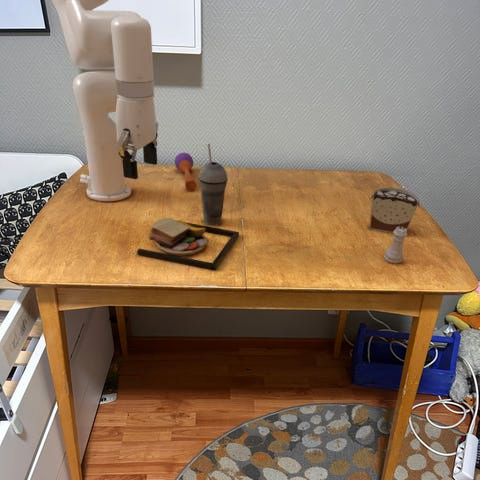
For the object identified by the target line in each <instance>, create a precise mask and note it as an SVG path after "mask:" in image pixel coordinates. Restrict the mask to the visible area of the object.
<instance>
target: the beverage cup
mask: <svg viewBox="0 0 480 480" xmlns="http://www.w3.org/2000/svg"><path fill="white" fill-rule="evenodd" d="M207 149H208V159H209V162H207V163H206V164H204V165H203V166H202V168H201V169H200V172H199V175H198V182H199V183H198V184H199V187H200V193H201V206H202V214H203V216H202V217H203V222H204V224H206V225H207V226H217V225H218V226H219V225H220V224H222V218H223V211H224V201H225V193H226V188H227V184H228V174H227V171H226V169H225V168H224V166H223V165H222V164H221V163H219V162H216V161H212V160H213V159H212V152H211V144H210V143H207Z"/></svg>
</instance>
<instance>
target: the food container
mask: <svg viewBox="0 0 480 480" xmlns="http://www.w3.org/2000/svg"><path fill="white" fill-rule="evenodd" d="M369 200H372V202H371V210H370V220H369V227H368V228H369V230H372V231H373V230H375V231H379V232H384V233H390V234H394V233H393V231H394V230H395V229H396V227H400V229H401V227H404V228H403V229H405V228H406V229H407V231H408V229H409V227H410V225H411V222H412V220H413V217H414V215H415V212H416V210H417V207H418V208H420V204H421V202H420V197H419V196H418V195H417V194H416V193H413V192H412V191H409V190H406V189H403V188H397V187H381V188H377V189H375V190H374V191H373V193H372V194H371V197H370V199H369Z"/></svg>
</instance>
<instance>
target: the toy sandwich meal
mask: <svg viewBox="0 0 480 480" xmlns="http://www.w3.org/2000/svg"><path fill="white" fill-rule="evenodd" d="M175 220H176V219H174V218H173V217H165V218H161V219H158V220H157V221H155V222H154V223H153V224H152V225H151V228H150V233H149V235H148V240H150V241H154V244H155V246H156V247H157V248H158V249H159V250H161V251H162V253H165V254H170V255H175V256H180V257H185V256H191V255H195V254H197V253H199V252H200V251H202V250H203V249H204V248H205V247H206V246H207V244H208V238H207V236H206V235H205V233H206V232H205V228H196V227H193V226H190V225H189V224H187V223H188V222H187V223H185V222H186V221H183V220H182V219H179V220H176V221H175ZM177 221H178V222H177Z"/></svg>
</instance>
